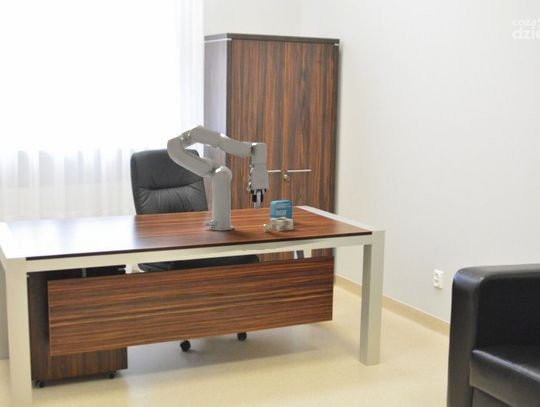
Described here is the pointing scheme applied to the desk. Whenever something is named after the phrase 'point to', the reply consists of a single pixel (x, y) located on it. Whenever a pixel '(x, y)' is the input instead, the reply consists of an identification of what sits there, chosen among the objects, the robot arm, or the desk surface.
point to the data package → (281, 209)
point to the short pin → (266, 228)
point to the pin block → (281, 224)
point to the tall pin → (258, 199)
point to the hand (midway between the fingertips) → (257, 201)
